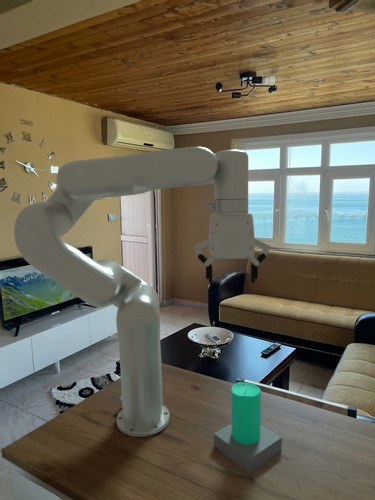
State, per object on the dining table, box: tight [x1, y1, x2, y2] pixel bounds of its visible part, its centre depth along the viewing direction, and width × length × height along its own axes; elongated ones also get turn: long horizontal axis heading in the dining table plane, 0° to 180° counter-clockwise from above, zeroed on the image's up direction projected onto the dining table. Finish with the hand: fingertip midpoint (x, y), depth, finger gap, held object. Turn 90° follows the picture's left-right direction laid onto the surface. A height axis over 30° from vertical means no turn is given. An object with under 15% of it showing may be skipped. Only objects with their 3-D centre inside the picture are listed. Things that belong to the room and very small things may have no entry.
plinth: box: [213, 422, 283, 474], centre depth 76 cm, size 10×10×3 cm
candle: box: [230, 381, 262, 445], centre depth 75 cm, size 6×6×12 cm
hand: (231, 282), depth 83 cm, fingers open, 9 cm apart
